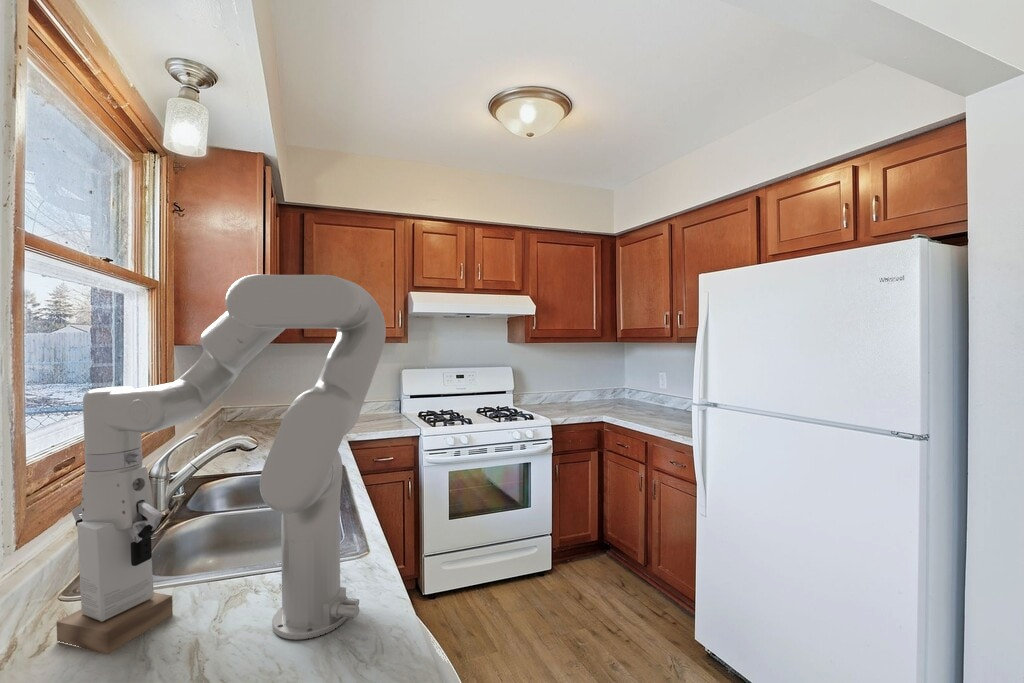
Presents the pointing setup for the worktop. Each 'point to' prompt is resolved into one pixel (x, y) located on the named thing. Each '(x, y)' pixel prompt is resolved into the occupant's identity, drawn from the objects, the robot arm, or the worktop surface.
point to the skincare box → (110, 571)
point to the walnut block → (114, 625)
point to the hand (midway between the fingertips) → (118, 560)
